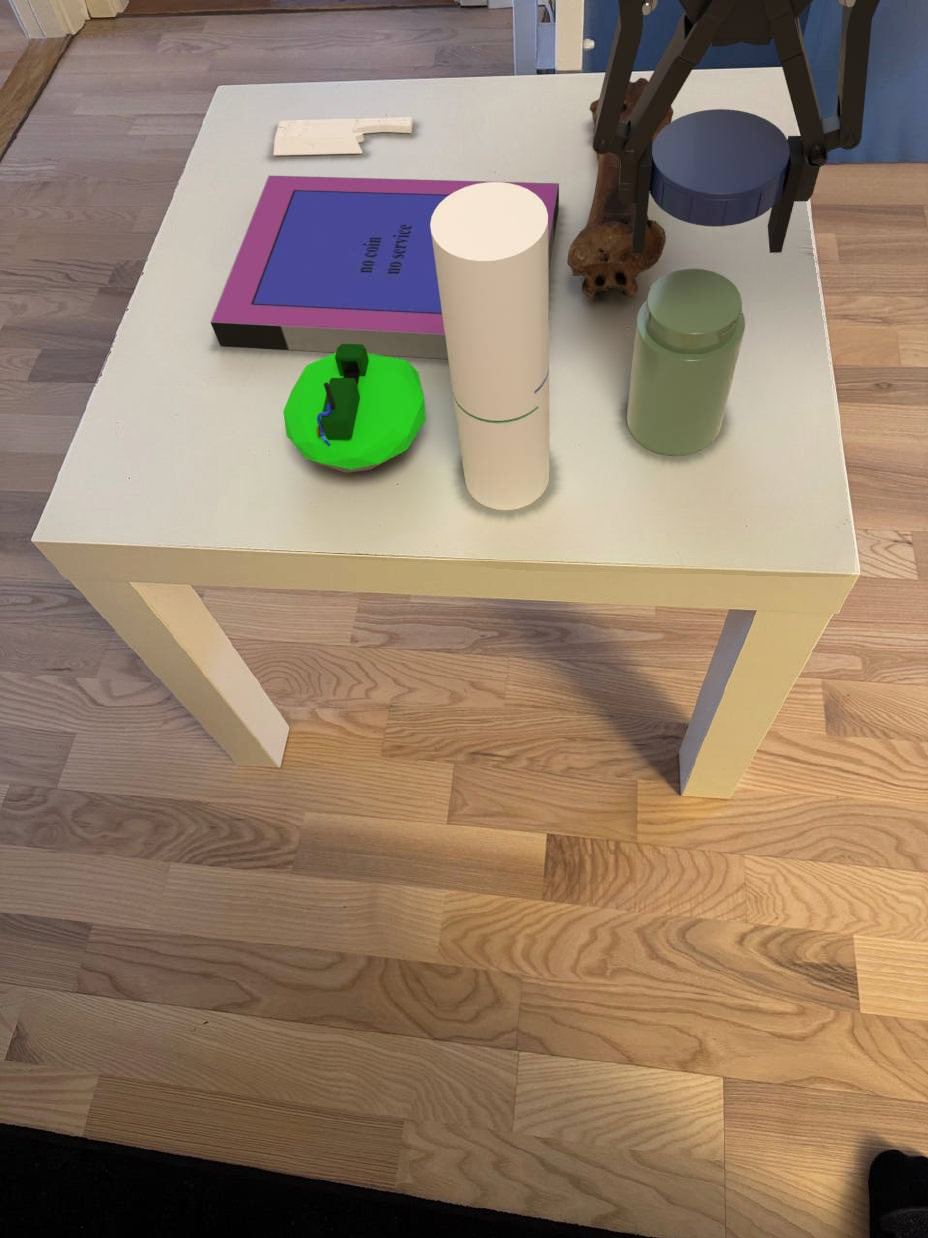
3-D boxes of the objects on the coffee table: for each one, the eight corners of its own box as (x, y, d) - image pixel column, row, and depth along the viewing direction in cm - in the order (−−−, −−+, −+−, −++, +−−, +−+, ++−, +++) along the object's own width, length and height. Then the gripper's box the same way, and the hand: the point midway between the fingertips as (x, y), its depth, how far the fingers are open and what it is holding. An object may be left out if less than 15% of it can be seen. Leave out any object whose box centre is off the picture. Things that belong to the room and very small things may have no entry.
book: (532, 339, 81) (210, 322, 85) (533, 363, 83) (220, 346, 88) (558, 183, 90) (268, 175, 95) (558, 209, 93) (276, 200, 97)
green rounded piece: (422, 501, 77) (404, 412, 67) (287, 496, 78) (250, 408, 69) (440, 392, 83) (424, 295, 73) (313, 389, 84) (282, 294, 74)
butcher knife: (407, 153, 99) (406, 143, 98) (273, 156, 101) (270, 147, 100) (413, 123, 102) (411, 113, 101) (282, 126, 104) (279, 117, 103)
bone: (679, 42, 92) (664, 230, 77) (678, 124, 99) (664, 312, 84) (590, 52, 94) (557, 237, 79) (594, 131, 101) (566, 315, 86)
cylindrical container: (565, 462, 78) (569, 202, 56) (521, 523, 75) (508, 275, 53) (493, 430, 80) (470, 169, 58) (448, 489, 77) (407, 238, 55)
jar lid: (660, 137, 62) (664, 103, 60) (789, 148, 60) (797, 114, 58) (637, 219, 58) (640, 186, 56) (774, 233, 56) (782, 200, 54)
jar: (739, 409, 79) (771, 289, 67) (688, 470, 76) (712, 356, 65) (660, 370, 82) (677, 248, 70) (608, 427, 79) (617, 311, 68)
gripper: (1001, -223, 43) (862, 201, 63) (550, -193, 46) (553, 204, 66) (1031, -147, 40) (874, 277, 59) (541, -120, 42) (546, 277, 62)
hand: (705, 238), depth 63 cm, fingers closed on jar lid, 8 cm apart
